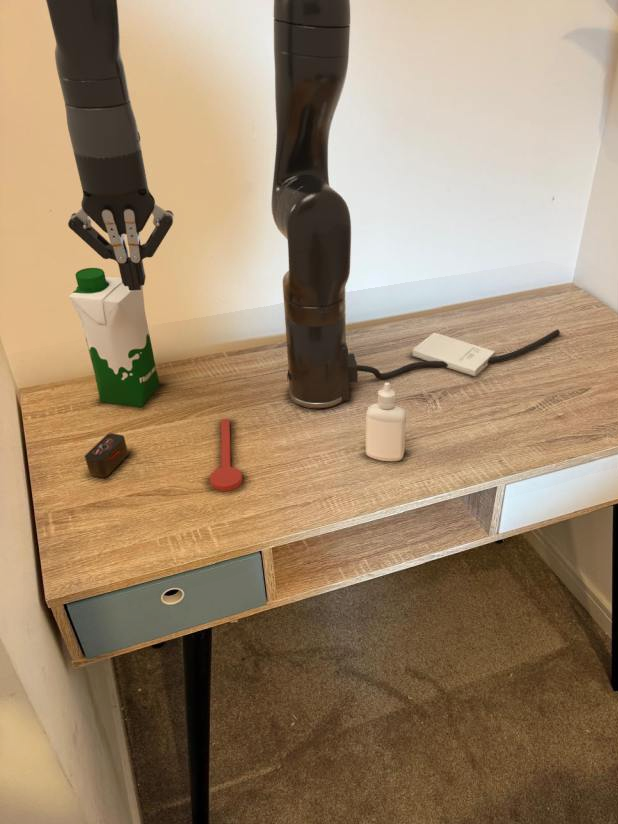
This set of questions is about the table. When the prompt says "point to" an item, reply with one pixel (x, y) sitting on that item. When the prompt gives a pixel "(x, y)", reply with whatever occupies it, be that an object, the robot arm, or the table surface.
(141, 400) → the milk carton
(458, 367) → the hard drive
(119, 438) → the black gauge box
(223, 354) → the table surface
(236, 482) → the spoon
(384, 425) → the eye dropper bottle
